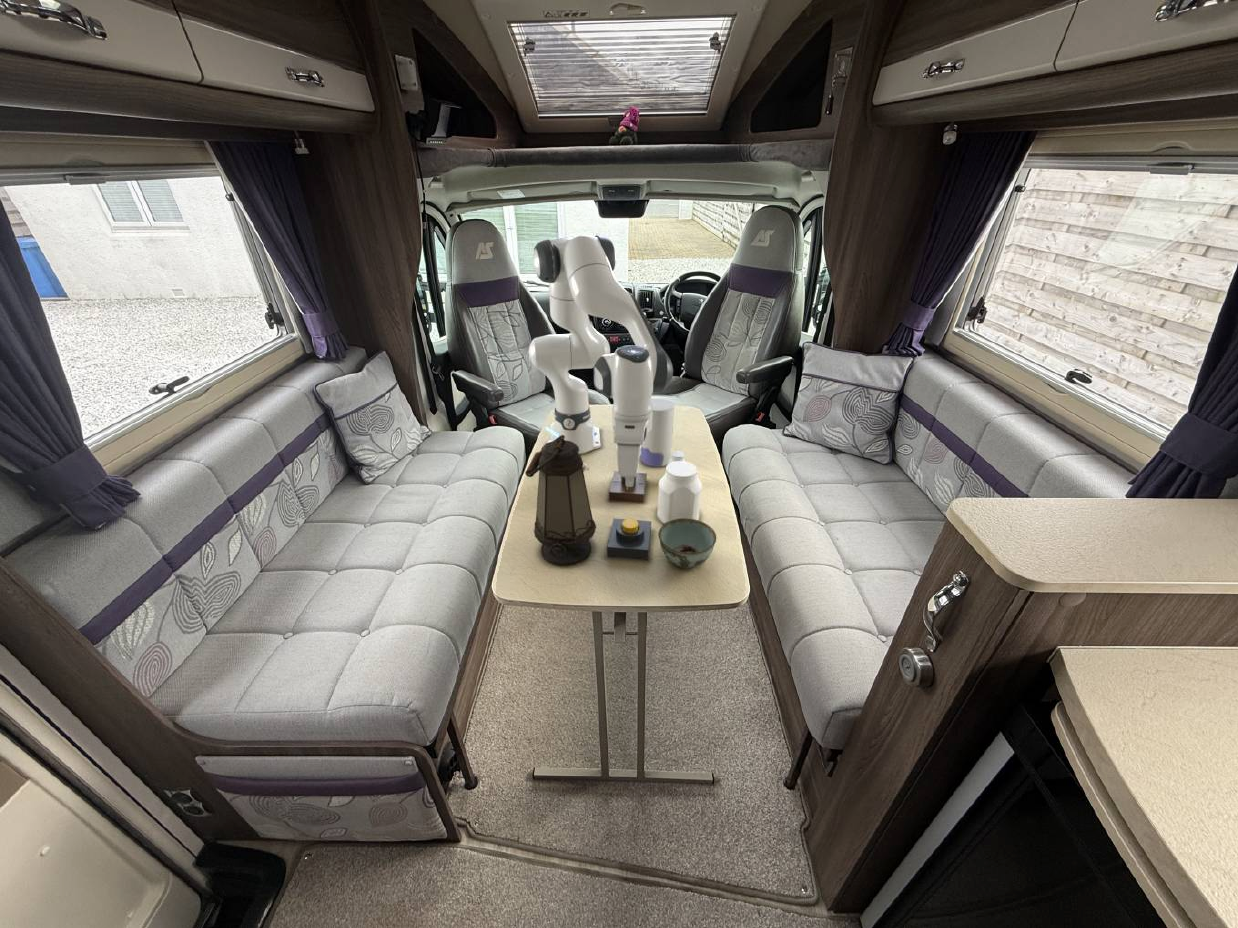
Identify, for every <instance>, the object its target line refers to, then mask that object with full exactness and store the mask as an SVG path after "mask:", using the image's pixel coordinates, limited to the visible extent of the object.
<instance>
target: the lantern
mask: <svg viewBox="0 0 1238 928" xmlns="http://www.w3.org/2000/svg"><path fill="white" fill-rule="evenodd" d="M564 438H565V436H564V435H561V436H559V437H558V438H557V439H555V440H554V441H552V442H549V443H548V442H547V443H545V444H544V445H543V446H542V447H541V448H540V451H537V452H535V453H534V455H533V457H532V459H531V461H530V463H529V464H528V467H527V468H526V470H525V472H524V474H525V476H527V477H528V478H532V477H534V476H535V475H536V473H538V482H537V483H538V485H537V499H536V510H535V511H536V512H535V522H534V529H533V534H534V537H535V538H536V540H537V541H538V542H539V543H540V544H541V545H540V551H539V552H540V555H541V557H542V559H543V560H544V561H545V562H546V563H548V564H550V565H553V566H557V567H570V566H575V565H578V564H580V563H582V562H584V561H585V560H587V559H588V557H590V556H591V553H592V549H593V547H592V544H591V541H590V540H591V539H592V538H593V537H594V535H595V533H596V529H597V525H596V522H595V520H594V518H593V515H592V509H591V504H590V503H591V502H590V498H589V493H588V488H587V484H586V478H585V472H583V467H582V466H583V463H584V460H583V457H582V456H581V454H579V453H578V452H579V447H578V446H577V445H576V444H575V443H573V442H571V441H566V440H564Z"/></svg>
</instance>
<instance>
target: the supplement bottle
mask: <svg viewBox="0 0 1238 928" xmlns="http://www.w3.org/2000/svg"><path fill="white" fill-rule="evenodd" d="M675 461H685V462H687V461H686V459H685V452H683V451H682V450H673V451H671V458H670V459H669V462H668V464H669V463H671V462H675ZM668 464H667V465H668Z"/></svg>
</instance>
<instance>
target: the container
mask: <svg viewBox="0 0 1238 928" xmlns="http://www.w3.org/2000/svg"><path fill="white" fill-rule="evenodd" d="M651 403H652V429H651V431H650V432H649V433H648V435H647V436H646V438H645V441H644V444H642V446H641V451H640V461H641V462H642V463H643V464H644V465H647V466H649V467H656V468H657V467H666V466H667V465H668V462H669V459H670V458H671V453H672V452H673V451H672V450H673V436H674V435H673V434H674V420H675V418H674V417H675V403H674V402H673V401H671V400H670V399H667V398H666V399H665V398H651Z"/></svg>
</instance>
